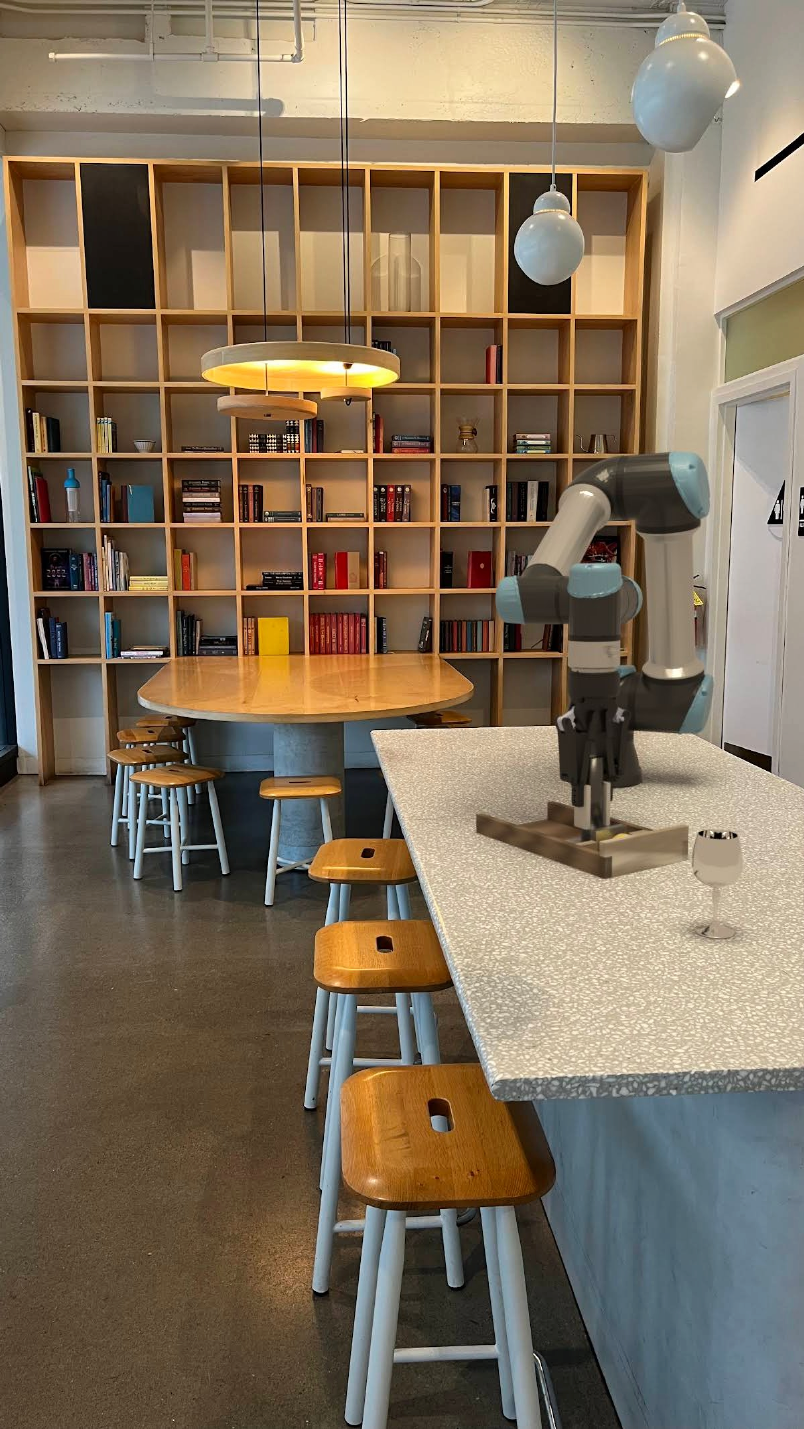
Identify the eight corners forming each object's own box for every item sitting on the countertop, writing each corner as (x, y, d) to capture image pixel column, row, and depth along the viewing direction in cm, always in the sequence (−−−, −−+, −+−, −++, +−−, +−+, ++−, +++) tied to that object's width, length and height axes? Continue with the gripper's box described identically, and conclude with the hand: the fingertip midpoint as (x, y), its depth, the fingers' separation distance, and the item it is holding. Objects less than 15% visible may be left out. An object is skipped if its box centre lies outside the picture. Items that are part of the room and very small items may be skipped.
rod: (555, 848, 153) (556, 757, 151) (600, 839, 158) (601, 750, 156) (588, 859, 147) (589, 764, 145) (633, 850, 152) (635, 757, 150)
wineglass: (682, 924, 125) (685, 829, 123) (728, 922, 125) (731, 827, 123) (700, 941, 119) (703, 841, 117) (748, 939, 119) (751, 840, 118)
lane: (476, 839, 165) (476, 802, 164) (552, 825, 173) (553, 789, 172) (605, 887, 139) (605, 843, 139) (687, 867, 148) (688, 826, 147)
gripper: (568, 675, 142) (566, 839, 145) (652, 667, 150) (649, 822, 154) (534, 671, 148) (533, 828, 152) (617, 664, 157) (614, 813, 160)
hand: (592, 825), depth 153 cm, fingers closed on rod, 3 cm apart
